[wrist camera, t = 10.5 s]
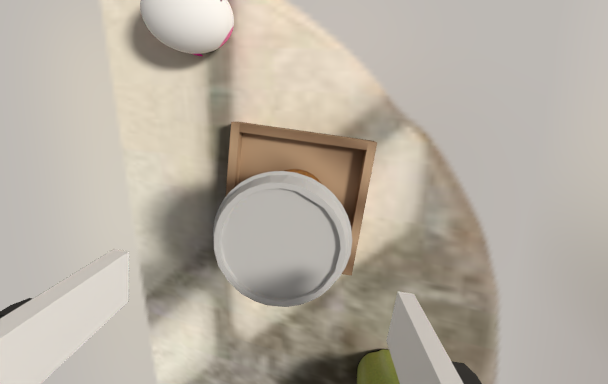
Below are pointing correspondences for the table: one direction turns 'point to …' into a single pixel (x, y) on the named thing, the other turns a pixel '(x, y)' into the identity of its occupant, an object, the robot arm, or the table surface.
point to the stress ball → (189, 23)
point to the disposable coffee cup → (282, 238)
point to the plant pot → (377, 369)
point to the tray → (306, 164)
